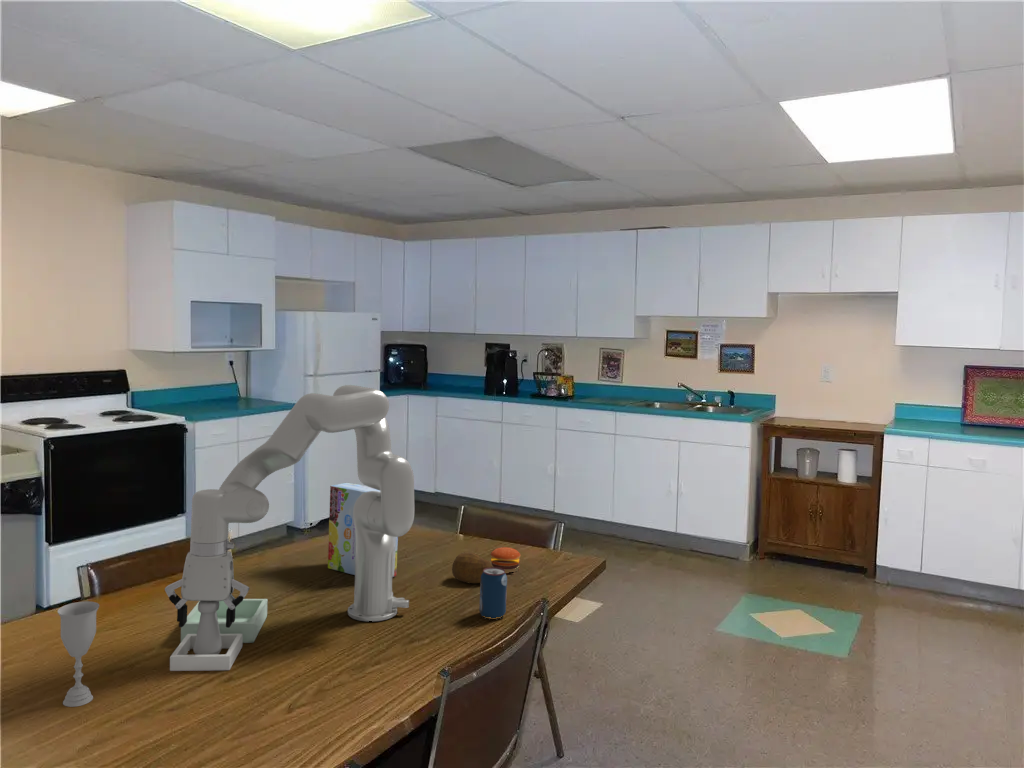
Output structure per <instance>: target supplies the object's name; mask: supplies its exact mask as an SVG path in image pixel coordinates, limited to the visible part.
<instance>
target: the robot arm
mask: <svg viewBox="0 0 1024 768" xmlns="http://www.w3.org/2000/svg"><path fill="white" fill-rule="evenodd" d="M389 401H390V400H389V399H388V397H387V395H386V394H385V393H384V392H383V391H381V390H379V389H376V388H374V387H373V388H372V387H366V386H360V385H352V384H347V385H346V384H345V385H341V386H339V387H338V388H337V389H336V390H334V393H333V395H328V394H323V393H313V392H311V393H307V394H304V395H303V396H301V397H300V398H299V399H298V400H297V402H296V403H295V404H294V405H293V406H292V408H291V409H290V411H289V412H288V414H287V415H285V417H284V418H283V420H282V422H281V423H280V424H279V425H278V427H277V428H276V429H275V431H274V432H273V433H272V434H271V436H270V437H269V439H267V440H266V441H265V442H264V443H263V444H261V445H260V446H258V447H256V449H254V450H253V451H251V453H249V454H248V455H246V456H245V457H244V458H243V459H242V460H240V461H239V462H238V463H237V465H236V466H235V467H233V469H232V470H231V471H230V472H229V474H228V475H227V477H226V478H225V480H224V481H222V484H220V487H219V489H214V488H213V489H202V490H199V491H196V492H195V493H194V494H192V498H191V499H192V500H191V516H190V517H191V521H190V522H191V523H190V543H189V544H190V547H189V548H190V549H189V551H188V552H187V554H186V557H185V562H184V565H183V572H182V577H181V579H178V580H177V581H175V582H172V583H170V584H168V585H167V586H166V587H165V588H164V592H165V593H166V595H167V597H168V600H169V601H170V602H171V603H172V604H173V605H174V606H175V609H176V610H177V613H176V622H177V623H178V626H179V628H181V627H183V626H184V625H185V624H186V622H187V616H188V605H187V602H188V601H192V602H199V601H224V602H225V604H226V605H227V606H228V609H227V611H226V627H227V628H229V627H230V626H231V624H232V622H234V621H235V611H236V606H237V605H238V604H240V603H241V602H242V601H243V599H246V596H247V595H248V593H249V591H250V586H248V585H247V584H244V583H242V582H241V581H238V580H236V579H235V576H234V574H235V572H234V571H235V570H234V559H233V555H232V551H229V550H234V549H235V546H236V544H235V542H232V541H230V540H229V524H253V523H256V522H259V521H261V520H262V519H263V518H265V516H266V515H267V513H268V512H269V508H270V503H269V502H270V501H269V499H268V497H267V496H266V495H265V493H263V492H262V491H260V490H259V489H256V488H257V487H259V485H260V484H261V483H262V482H263V481H264V480H265V479H266V478H267V477H269V476H270V475H272V474H273V473H275V472H277V471H279V470H282V469H286V468H288V467H291V466H293V465H296V464H297V463H299V462H300V461H301V460H302V458H303V456H304V455H305V453H306V452H307V451H308V450H309V448H310V447H311V445H312V444H313V443H314V441H315V440H316V438H317V437H318V436H319V435H320V433H321V432H325V433H328V434H329V433H331V434H333V433H334V434H335V433H339V432H347V431H351V430H352V431H353V430H354V433H355V439H356V440H355V441H356V460H357V461H356V462H357V465H356V466H357V475H358V476H357V477H358V479H359V482H361V484H362V485H364V486H368V487H371V488H374V489H377V490H380V492H378V491H369V492H366V493H363V494H362V495H361V496H359V498H358V499H357V500H356V502H355V505H354V509H353V517H354V524H355V531H356V560H355V575H354V590H353V591H354V593H353V594H354V596H353V597H354V598H353V603H352V604H350V606H348V607H347V615H348V616H349V617H350V618H351V619H353V620H356V621H360V622H369V621H372V622H382V621H386V620H389V619H391V618H393V617H395V616H396V615H397V614H398V608H403V609H404V608H406V609H407V608H409V607H410V606H409V605H410V599H405V597H396V596H394V592H393V577H392V572H393V538H392V537H398V538H399V537H402V536H404V535H406V534H407V533H408V532H409V531H410V530H411V528H412V526H413V523H414V520H415V511H416V510H415V476H414V471H413V469H412V466H411V464H410V462H409V461H408V460H407V459H406V458H404V457H403V456H400V455H397V454H394V453H393V452H392V442H391V430H390V426H389V423H388V420H387V418H386V416H387V415H388V413H389V408H390V402H389ZM180 587H181V589H180V592H181V593H180V594H181V597H180V596H179V595H178V594H177V593H176V591H175V590H177V589H178V588H180ZM234 590H237V591H239V595H238V596H237V597H236V598H235V597H234V595H233V593H234Z"/></svg>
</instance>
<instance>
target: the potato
mask: <svg viewBox="0 0 1024 768" xmlns="http://www.w3.org/2000/svg"><path fill="white" fill-rule="evenodd" d="M490 567H492V564H491V560H487V559H485V558H483V557H481V556H480V555H479V554H477V553H474V552H461V553H459V554H458V555H457V556H456V557H455V559H454V560H453V561H452V567H451V572H452V575H453V577H454V578H455V579H457V580H458V581H461V582H463V583H465V582H469V583H468V584H470V583H480V582H481V575H482V573H483V570H484V569H485V568H490Z"/></svg>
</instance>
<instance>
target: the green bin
mask: <svg viewBox="0 0 1024 768" xmlns="http://www.w3.org/2000/svg"><path fill="white" fill-rule="evenodd" d="M199 602H200V601H197V603H196V605H195V606H193V608H192V610H190V612H189V613H188V614H187V622H186V624H185V625H184V626H183V627H180V643H181V642H182V641H183V639H184V638H185V637H186V635H187V634H197V630H198V626H199V621H200V616H201V613H200V612H199V611H198V604H199ZM227 609H228V606H227V605H226V604H225V602H224V601H219V609H218V610H217V611H216V612H217V618H218V624H219V629H220V634H243V644H250V643H252V644H254V643H255V641H256V639H257V636H258V634H259V633H260V631H261V629H262V627H263V626H264V624H265V621H266V620H267V617H268V598H244V599H243V601H242V602H241V603H240V604H238V605H237V606H236V611H235V621H234V622H232V624H231V626H230V627H229V628H227V627H226V611H227Z"/></svg>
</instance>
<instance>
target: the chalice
mask: <svg viewBox="0 0 1024 768" xmlns="http://www.w3.org/2000/svg"><path fill="white" fill-rule="evenodd" d="M99 608H100V604H99V603H98V602H97V601H96V602H95V601H91V600H90V601H87V600H86V601H78V602H72V603H68V604H65V605H63V606H61V607H60V608H59V609H57V614H58V615H59V617H60V639H61V641H62V644H63V646H64V648H65V650H66V651H67V653H68V654H69V656H70V657H72V658H75V663H74V665H73V668H74V670H75V672H74V674H73V676H72V677H73V678H74V680H75V683H74V685H73V686H72V687H70V688H69V689H68V691H67V692H66V695H65V697H64V700H63V701H62V705H63V706H65V707H69V708H70V707H71V708H72V707H73V708H74V707H81V706H84V705H86V704H88V703H90V702H92V701H93V699H94V695H92V692H91V690H90V687H88V686H87V685H85V684H83V683H82V677H84V673H83V672H82V668H83V667H84V666H83V665H84V664H83V662H82V657H83V656H85V655H86V654H87V653H88V651H89V650H90V647H91V645H92V643H93V640H94V639H95V635H96V633H97V612H98V610H99Z"/></svg>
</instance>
